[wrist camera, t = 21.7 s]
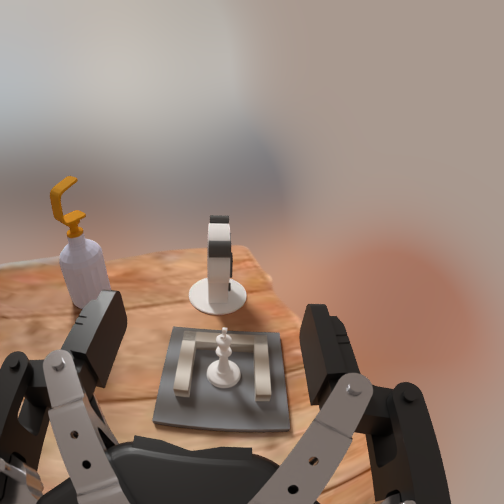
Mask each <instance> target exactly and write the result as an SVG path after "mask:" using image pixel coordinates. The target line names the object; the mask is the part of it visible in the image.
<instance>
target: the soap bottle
mask: <svg viewBox="0 0 504 504" xmlns="http://www.w3.org/2000/svg"><path fill="white" fill-rule="evenodd" d="M76 182H77V178H75V177H71V176H68V177H66V178H65V179H63V180H62V181H61V182H59V183H58V184H57V185H56V186H54V187H53V188H52V190H51V192H50V199H51V205H52V210H53V215H54V218H55V219H56V220H58V221H60V222H61V223H63V224H65V225H66V226H68V227H69V228H70V230H68V231H67V238H68V242H69V244H68V245H66V246H65V248H64V249H63V251H62V252H61V254H60V262H59V263H60V267H61V270H62V273H63V276H64V279H65V282H66V285H67V288H68V291H69V294H70V296H71V299H72V302H73V303H74V305H75V306H77V307H78V308H80V309H83V308H84V306H85V305H87V304H88V303H89V302H90V301H91V300H96V299H97V298H98V296H99V294H100V292H101V291H102V290H104V289H105V290H111V287H110V283H109V279H108V275H107V271H106V266H105V262H104V258H103V253H102V249H101V247H100V246H99V244H97V243H96V242H94V241H92V240H89V239H85V237H84V233H83V229H82V228H81V227H78V224H79V222H80V219H82V218H84V217H86V214H85V213H83V212H81V211H78V210H75V211H73V212H70V213H68V214H66V215H64V216H63V212H62V207H61V195H62V194H63V193H64V192H65V191H66V190H67V189H68V188H69V187H71V186H72V185H73V184H75V183H76Z"/></svg>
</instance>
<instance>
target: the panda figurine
mask: <svg viewBox="0 0 504 504" xmlns="http://www.w3.org/2000/svg"><path fill="white" fill-rule="evenodd" d="M232 263H233V258H232V252H231V233H230V226H229V216H213V215H211V216H210V223H209V228H208V278H205V279H202V280H200V281H198V282H196V283H195V284H194V285H193V286H192V287H191V289H190V291H189V299H190V302H191V304H192V305H193V306H194V307H195V308H196V309H198V310H199V311H201V312H204V313H207V314H211V315H225V314H230V313H233V312H235V311H237V310H238V309H240V308H241V307H242V306H243V305H244V303H245V301H246V291H245V289H244V287H243V286H242V285H241V284H239V283H238V282H236V281H235V280H232V279H230V278H232Z"/></svg>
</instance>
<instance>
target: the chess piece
mask: <svg viewBox="0 0 504 504" xmlns="http://www.w3.org/2000/svg"><path fill="white" fill-rule="evenodd" d="M226 333H227V328H225V327H223V328H222V334H220V335H218V336H217V338H216V343H217V345H218V347H217V349H216V354H217V356H219V357H220V358H219V360H217V361H214V362H213V363H211V364H210V365H209V367H208V369H207V378H208V380H209V382H210V383H211V384H212V385H214V386H216V387H219V388H229V387H232V386H234V385H236V384H237V383H238V381H239V380H240V376H241V374H240V369H239V367H238V366H237V365H236V364H235V363H234V362H232V361H230V360H228V357H229V356H230V355H231V354H232V350H231V348H230V347H229V346H230V344H231V342H232V338H231V337H230V336H229V335H227V334H226Z"/></svg>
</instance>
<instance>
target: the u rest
mask: <svg viewBox="0 0 504 504" xmlns="http://www.w3.org/2000/svg"><path fill="white" fill-rule="evenodd" d="M220 334H222V330H208V329H195V328H183V327H173V330H172V334H171V338H170V342H169V346H168V350H167V355H166V359H165V363H164V368H163V372H162V377H161V381H160V386H159V390H158V395H157V400H156V405H155V410H154V415H153V420H152V421H153V423H154V424H160V425H167V426H174V427H182V428H191V429H201V430H213V431H231V432H287V431H289V430H290V422H289V412H288V403H287V394H286V385H285V376H284V368H283V359H282V351H281V342H280V334H279V333H271V332H243V331H227V333H226V334H227V335H229V336H230V337H231V338H232V342H231V344H230V346H229V347H230V348H231V350H232V354H231V355H230V356H229V357H228V360H230V361H232V362H234V363H235V364H236V365H237V366H238V367H239V369H240V374H241V376H240V380H239V381H238V383H237V384H236V385H234V386H232V387H229V388H219V387H216V386H214V385H212V384H211V383H210V382H209V380H208V378H207V369H208V367H209V365H210V364H211V363H213V362H214V361H217V360H219V358H220V357H219V356H217V354H216V349H217V347H218V345H217V343H216V338H217V336H218V335H220Z"/></svg>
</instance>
